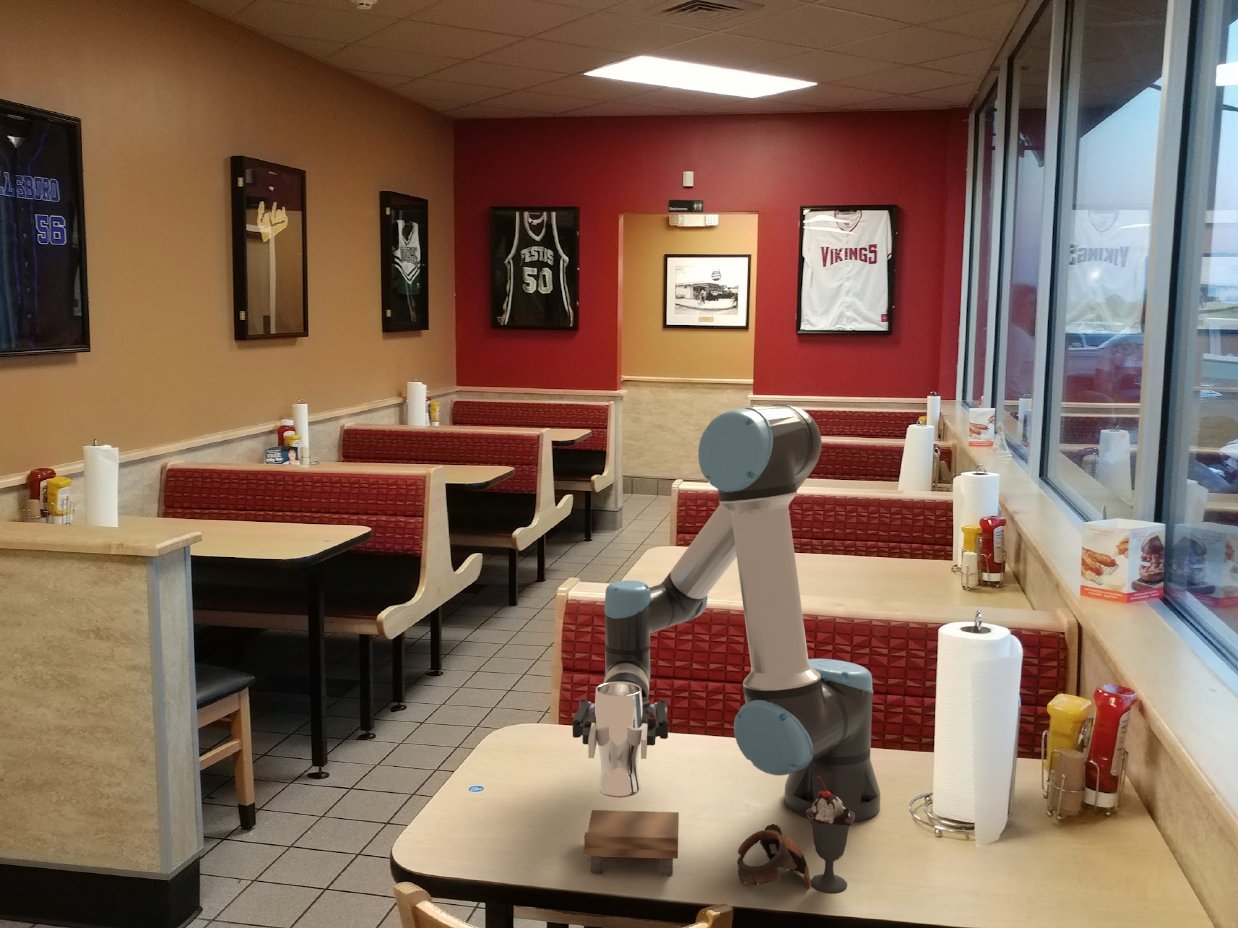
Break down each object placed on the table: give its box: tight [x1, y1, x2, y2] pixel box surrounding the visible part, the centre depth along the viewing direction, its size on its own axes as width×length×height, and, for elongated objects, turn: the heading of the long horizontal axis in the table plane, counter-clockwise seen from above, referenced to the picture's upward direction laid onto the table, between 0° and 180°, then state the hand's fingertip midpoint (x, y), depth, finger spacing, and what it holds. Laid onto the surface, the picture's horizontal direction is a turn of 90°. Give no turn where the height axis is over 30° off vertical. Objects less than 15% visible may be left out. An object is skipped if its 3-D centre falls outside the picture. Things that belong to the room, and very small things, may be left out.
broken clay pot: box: [736, 823, 812, 890], centre depth 154 cm, size 12×10×8 cm
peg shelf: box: [583, 809, 680, 877], centre depth 160 cm, size 13×12×6 cm
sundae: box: [805, 776, 855, 894], centre depth 152 cm, size 7×7×15 cm
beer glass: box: [594, 681, 643, 799], centre depth 159 cm, size 7×7×15 cm
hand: (617, 748), depth 154 cm, fingers closed on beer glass, 7 cm apart
